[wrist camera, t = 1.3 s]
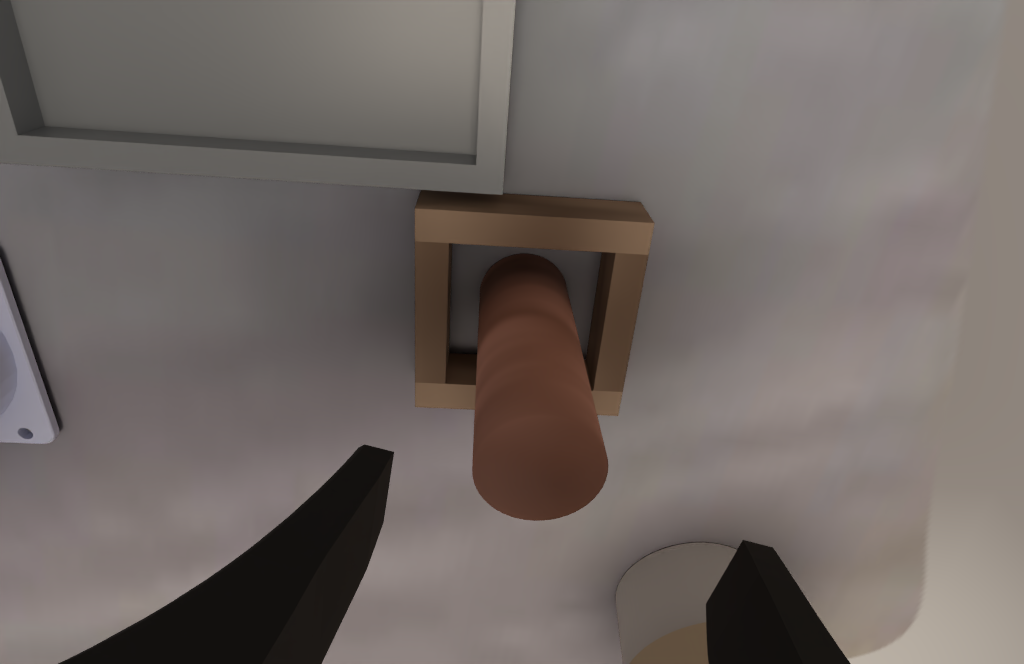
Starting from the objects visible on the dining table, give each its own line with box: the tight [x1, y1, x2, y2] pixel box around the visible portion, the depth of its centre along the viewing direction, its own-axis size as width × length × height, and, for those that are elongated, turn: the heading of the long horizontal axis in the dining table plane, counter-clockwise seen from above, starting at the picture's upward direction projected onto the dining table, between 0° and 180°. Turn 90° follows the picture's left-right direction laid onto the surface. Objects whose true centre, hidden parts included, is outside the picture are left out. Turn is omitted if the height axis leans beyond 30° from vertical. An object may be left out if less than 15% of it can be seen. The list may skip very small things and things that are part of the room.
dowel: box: [472, 254, 608, 521], centre depth 18 cm, size 3×3×9 cm
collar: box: [415, 190, 654, 416], centre depth 21 cm, size 7×7×2 cm
